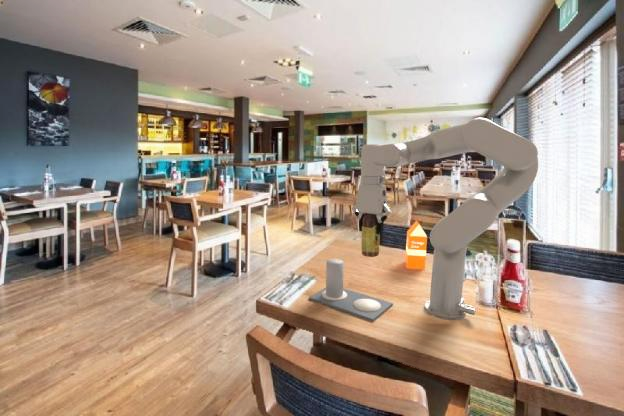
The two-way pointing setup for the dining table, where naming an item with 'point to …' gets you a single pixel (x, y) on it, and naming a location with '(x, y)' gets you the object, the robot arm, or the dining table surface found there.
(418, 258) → the orange juice
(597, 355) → the dining table surface
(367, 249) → the sauce bottle
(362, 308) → the board
